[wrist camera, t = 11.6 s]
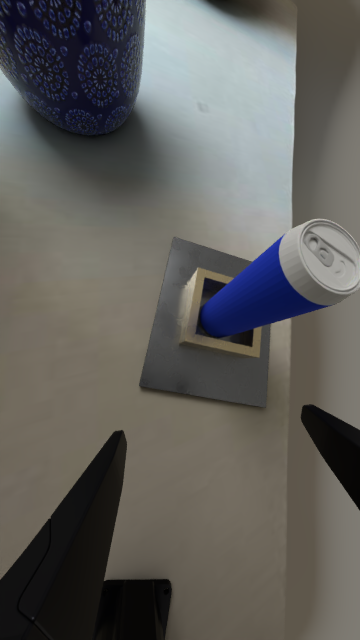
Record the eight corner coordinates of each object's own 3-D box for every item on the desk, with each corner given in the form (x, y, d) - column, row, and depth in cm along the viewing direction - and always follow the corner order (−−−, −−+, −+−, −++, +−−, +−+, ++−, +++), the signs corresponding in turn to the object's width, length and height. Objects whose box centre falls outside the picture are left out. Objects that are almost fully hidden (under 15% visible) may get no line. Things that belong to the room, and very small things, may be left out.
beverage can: (241, 316, 25) (379, 255, 11) (222, 346, 23) (355, 320, 9) (212, 292, 25) (314, 198, 11) (190, 321, 23) (277, 254, 9)
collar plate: (261, 406, 24) (284, 414, 20) (139, 384, 21) (139, 389, 17) (269, 271, 29) (288, 258, 25) (172, 240, 26) (178, 220, 23)
